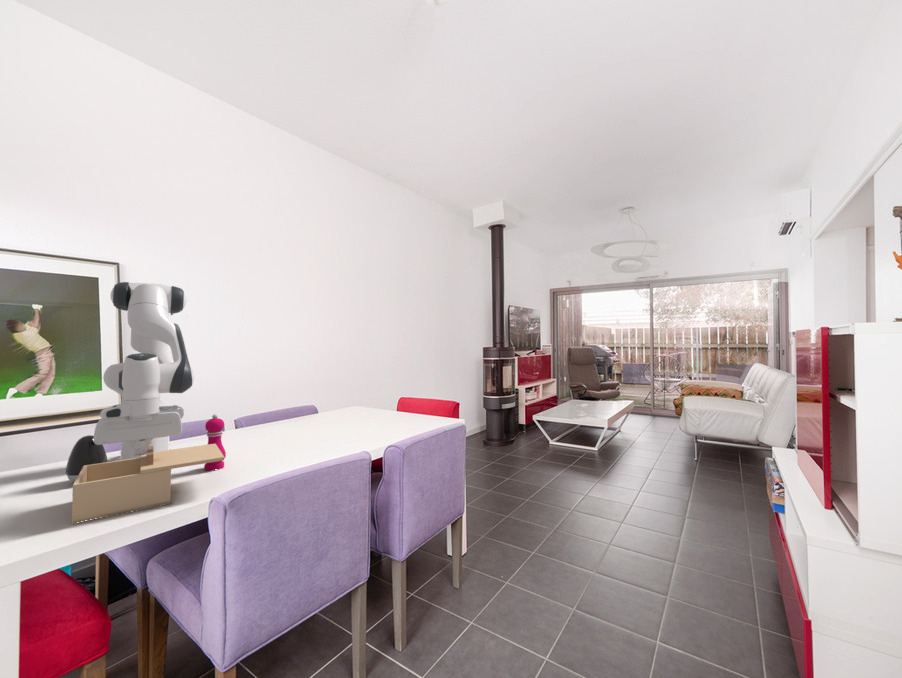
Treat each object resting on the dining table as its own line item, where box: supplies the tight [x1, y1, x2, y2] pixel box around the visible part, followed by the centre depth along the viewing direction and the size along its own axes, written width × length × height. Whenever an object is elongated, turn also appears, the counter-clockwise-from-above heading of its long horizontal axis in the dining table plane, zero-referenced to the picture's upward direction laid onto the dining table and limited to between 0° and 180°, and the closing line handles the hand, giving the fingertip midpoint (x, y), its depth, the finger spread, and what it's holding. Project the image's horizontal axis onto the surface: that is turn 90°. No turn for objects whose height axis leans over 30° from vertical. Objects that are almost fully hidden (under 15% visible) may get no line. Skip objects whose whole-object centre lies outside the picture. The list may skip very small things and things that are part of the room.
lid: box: [140, 444, 225, 474], centre depth 117 cm, size 20×20×4 cm
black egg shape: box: [65, 434, 109, 484], centre depth 125 cm, size 10×10×15 cm
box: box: [71, 457, 172, 524], centre depth 109 cm, size 20×20×10 cm
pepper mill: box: [203, 413, 227, 471], centre depth 139 cm, size 7×7×20 cm
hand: (140, 454), depth 111 cm, fingers closed
